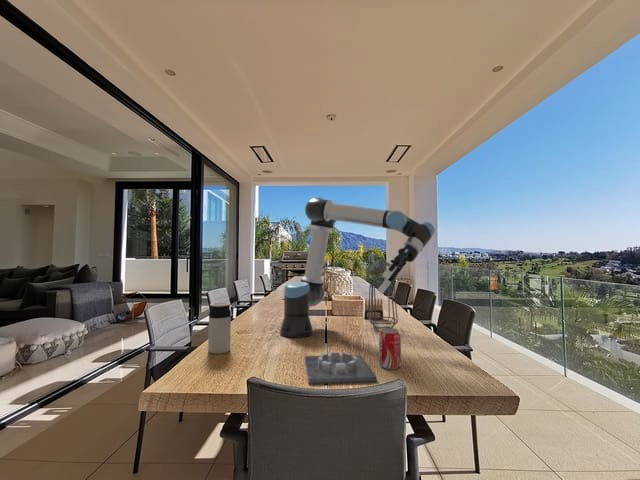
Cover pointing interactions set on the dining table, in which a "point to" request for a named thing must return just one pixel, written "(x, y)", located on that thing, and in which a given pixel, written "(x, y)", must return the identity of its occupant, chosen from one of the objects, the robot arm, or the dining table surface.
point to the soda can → (390, 348)
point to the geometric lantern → (374, 294)
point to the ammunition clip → (378, 309)
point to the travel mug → (219, 328)
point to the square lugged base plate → (338, 369)
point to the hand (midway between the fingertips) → (382, 284)
